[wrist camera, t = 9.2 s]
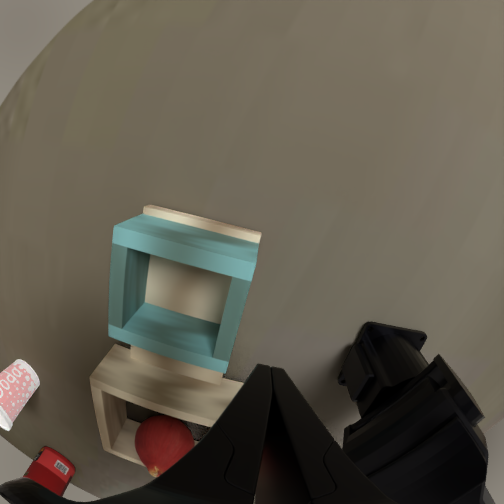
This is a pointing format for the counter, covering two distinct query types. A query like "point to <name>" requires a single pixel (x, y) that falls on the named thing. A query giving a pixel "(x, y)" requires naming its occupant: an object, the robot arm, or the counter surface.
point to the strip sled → (171, 321)
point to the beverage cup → (15, 390)
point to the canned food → (51, 470)
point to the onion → (162, 442)
